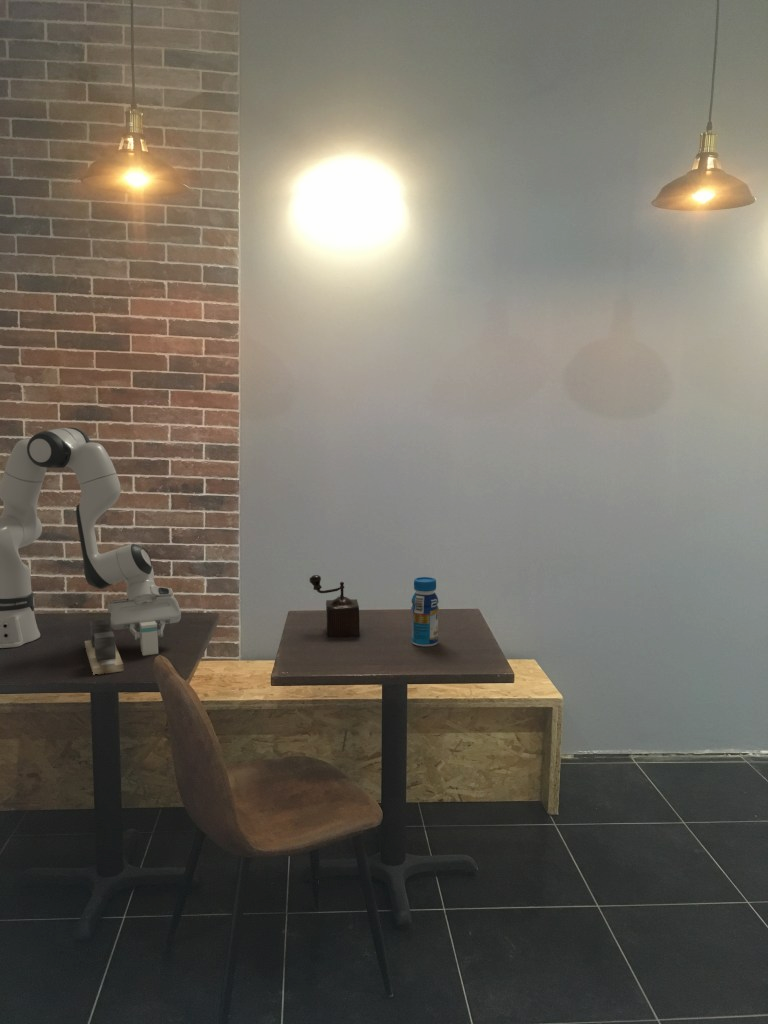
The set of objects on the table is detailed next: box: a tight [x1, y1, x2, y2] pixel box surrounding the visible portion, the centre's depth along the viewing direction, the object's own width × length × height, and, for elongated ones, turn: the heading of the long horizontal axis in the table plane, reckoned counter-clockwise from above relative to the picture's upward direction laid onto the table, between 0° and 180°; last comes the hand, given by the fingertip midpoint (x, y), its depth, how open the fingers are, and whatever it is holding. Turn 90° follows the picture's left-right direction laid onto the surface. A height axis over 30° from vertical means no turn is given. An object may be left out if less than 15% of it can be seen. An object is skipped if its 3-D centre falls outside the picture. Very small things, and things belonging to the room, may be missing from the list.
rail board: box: [84, 619, 125, 676], centre depth 238 cm, size 8×26×9 cm, turn 24°
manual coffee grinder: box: [309, 574, 361, 638], centre depth 262 cm, size 16×11×18 cm
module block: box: [139, 621, 159, 657], centre depth 243 cm, size 4×4×9 cm
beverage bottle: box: [410, 576, 440, 647], centre depth 250 cm, size 8×8×20 cm
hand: (149, 637), depth 242 cm, fingers open, 5 cm apart
